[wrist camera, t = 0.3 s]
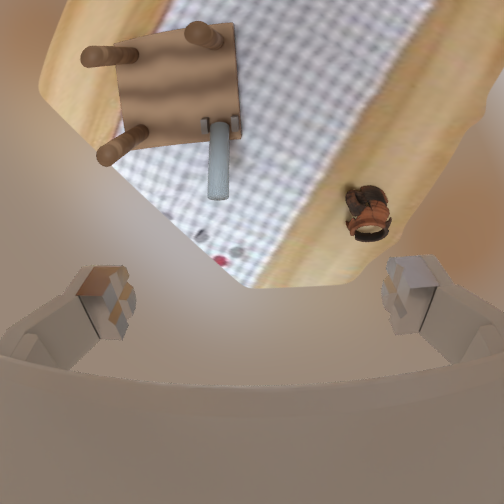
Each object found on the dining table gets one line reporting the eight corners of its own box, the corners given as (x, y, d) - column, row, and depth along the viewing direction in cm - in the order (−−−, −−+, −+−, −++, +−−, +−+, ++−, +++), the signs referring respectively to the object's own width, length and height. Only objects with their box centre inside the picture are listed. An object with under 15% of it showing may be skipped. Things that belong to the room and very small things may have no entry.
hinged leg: (208, 122, 46) (205, 193, 43) (228, 121, 45) (227, 192, 43) (212, 132, 48) (209, 201, 46) (230, 131, 48) (229, 199, 46)
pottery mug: (396, 198, 58) (402, 234, 54) (359, 215, 65) (362, 249, 61) (361, 167, 52) (366, 206, 48) (322, 189, 59) (323, 226, 55)
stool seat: (119, 44, 42) (69, 43, 28) (233, 24, 41) (221, 6, 27) (133, 147, 53) (92, 179, 39) (241, 135, 52) (233, 164, 38)
